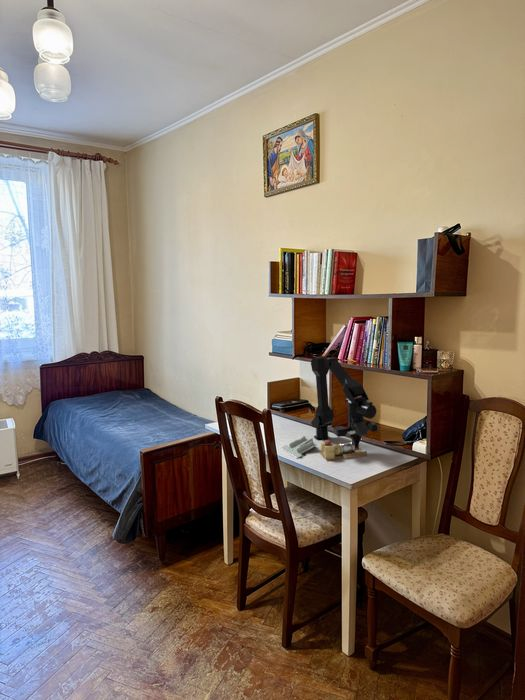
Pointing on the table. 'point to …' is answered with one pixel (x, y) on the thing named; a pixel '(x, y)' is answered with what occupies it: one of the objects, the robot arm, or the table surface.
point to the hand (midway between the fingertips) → (356, 447)
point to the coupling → (347, 448)
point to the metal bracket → (300, 446)
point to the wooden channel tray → (338, 452)
